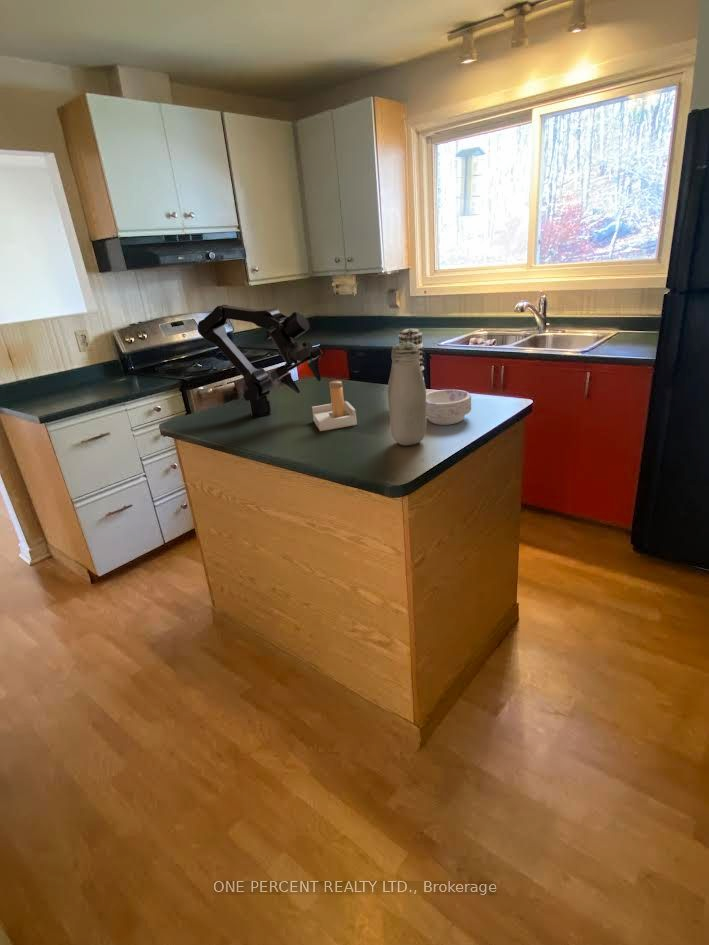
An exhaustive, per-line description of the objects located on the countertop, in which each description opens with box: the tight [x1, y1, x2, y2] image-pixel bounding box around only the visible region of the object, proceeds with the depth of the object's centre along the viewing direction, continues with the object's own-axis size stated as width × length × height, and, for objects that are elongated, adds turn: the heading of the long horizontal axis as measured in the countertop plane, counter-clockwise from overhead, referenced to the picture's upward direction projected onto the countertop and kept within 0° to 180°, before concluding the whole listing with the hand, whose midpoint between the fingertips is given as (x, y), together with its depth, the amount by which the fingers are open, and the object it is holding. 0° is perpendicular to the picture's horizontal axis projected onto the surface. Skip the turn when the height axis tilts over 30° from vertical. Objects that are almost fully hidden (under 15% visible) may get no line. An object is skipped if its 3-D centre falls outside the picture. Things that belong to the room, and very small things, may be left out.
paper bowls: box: [426, 389, 472, 426], centre depth 158 cm, size 15×15×8 cm
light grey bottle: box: [387, 342, 427, 446], centre depth 139 cm, size 10×10×28 cm
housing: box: [311, 400, 358, 432], centre depth 167 cm, size 12×11×5 cm
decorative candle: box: [398, 327, 426, 384], centre depth 175 cm, size 9×9×25 cm
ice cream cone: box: [329, 380, 345, 418], centre depth 165 cm, size 4×4×14 cm
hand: (309, 386), depth 172 cm, fingers open, 9 cm apart
